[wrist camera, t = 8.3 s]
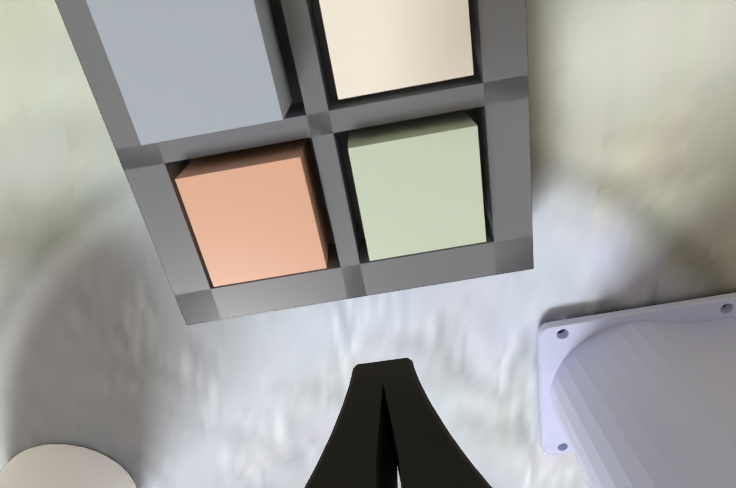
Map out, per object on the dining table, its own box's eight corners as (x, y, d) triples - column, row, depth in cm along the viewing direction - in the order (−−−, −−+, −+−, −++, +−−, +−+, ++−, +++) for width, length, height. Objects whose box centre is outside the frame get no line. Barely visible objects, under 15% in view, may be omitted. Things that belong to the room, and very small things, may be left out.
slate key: (258, -42, 14) (241, -47, 12) (292, 101, 16) (282, 119, 14) (121, -15, 15) (80, -15, 12) (169, 123, 16) (141, 145, 14)
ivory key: (445, -76, 15) (461, -86, 13) (457, 63, 17) (473, 75, 15) (314, -50, 16) (308, -56, 13) (339, 84, 17) (338, 99, 15)
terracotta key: (306, 136, 18) (300, 157, 16) (329, 236, 20) (326, 268, 18) (196, 155, 18) (175, 179, 16) (229, 253, 20) (213, 286, 18)
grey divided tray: (495, -154, 15) (519, -178, 13) (514, 238, 21) (533, 268, 19) (70, -68, 16) (23, -76, 13) (203, 289, 22) (186, 325, 19)
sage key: (461, 108, 18) (477, 125, 16) (470, 212, 20) (486, 241, 17) (348, 128, 18) (347, 148, 16) (367, 229, 20) (369, 260, 18)
